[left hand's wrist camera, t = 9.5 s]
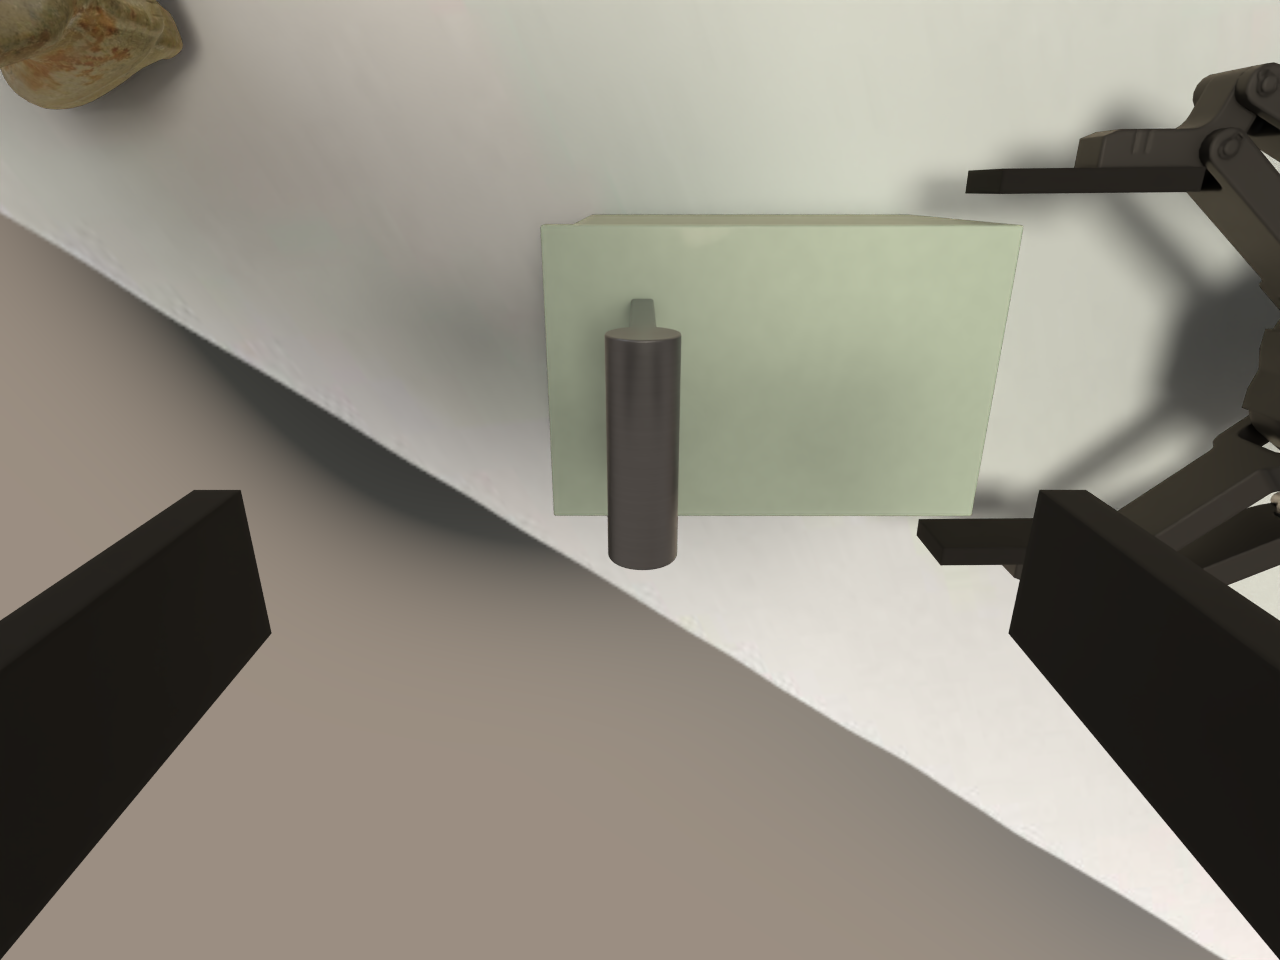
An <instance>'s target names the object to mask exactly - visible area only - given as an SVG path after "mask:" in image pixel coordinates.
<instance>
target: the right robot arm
mask: <svg viewBox="0 0 1280 960" xmlns="http://www.w3.org/2000/svg"><path fill="white" fill-rule="evenodd" d="M1193 103H1194V106H1195V107H1194V108H1193V110H1192V112H1191V114H1190V115H1189V117H1188V118H1187V119H1186V121H1185V122H1184V123H1183V124H1182V125H1180V126H1179V127H1177V128H1176V129H1118V130H1110V131H1102V132H1095V133H1093V134H1091V135H1088V136H1086V137H1083V138H1081V139H1080V141H1079V146H1078V151H1077V156H1076V162H1075V167H1074V168H1029V169H990V170H973V171H968V178H967V185H966V192H965V193H975V194H1029V193H1130V192H1187V193H1188V194H1189V196H1190V197H1191V198H1192V199H1193V200H1194V201H1195V202H1196V204H1197V205H1198V206H1199V207H1200V208H1201V209H1202V211H1203V212H1204V213H1205V214H1206V215H1207V216H1208V217H1209V219H1210V220H1211V221H1212V222H1213V223H1214V224H1215V226H1216V227H1217V228H1218V229H1219V230H1220V231H1221V232H1222V234H1223V235H1224V236H1225V237H1226V238H1227V239H1228V241H1229V242H1230V243H1231V244H1232V245H1233V246H1234V247H1235V249H1236V250H1237V251H1238V252H1239V253H1240V254H1241V256H1242V257H1243V258H1244V259H1245V260H1246V261H1247V262H1248V264H1249V265H1250V266H1251V267H1252V268H1253V269H1254V271H1255V272H1256V273H1257V274H1258V275H1259V276H1260V277H1261V279H1262V281H1261V282H1260V283H1259V286H1260V288H1261V289H1262V290H1263V291H1264V292H1265V294H1266V295H1267V296H1268V297H1269V298H1270V299H1271V301H1272V302H1273V303H1274V304H1275V305H1276V306H1277V307H1278V309H1279V310H1280V174H1279V173H1278V171H1277V170H1276V169H1275V168H1274V166H1273V165H1272V164H1271V163H1270V162H1269V160H1268V159H1267V158H1266V157H1265V155H1264V154H1263V153H1262V152H1261V151H1263V152H1264V153H1266V154H1268V155H1269V156H1271V157H1272V158H1274V159H1276V160H1277V161H1279V162H1280V64H1277V63H1267V64H1262V65H1256V66H1251V67H1246V68H1241V69H1236V70H1231V71H1226V72H1222V73H1217V74H1212V75H1209V76H1207V77H1205V78H1204V79H1202V80H1201V82H1200V83H1199V84H1198V85H1197V87H1196V89H1195V91H1194V94H1193ZM1260 150H1261V151H1260ZM1242 408H1244V409H1247V410H1249V416H1247V417H1246V418H1244V419H1242V420H1241V421H1239V422H1238V423H1236V424H1235V425H1233V426H1232V427H1230V428H1229V429H1227V430H1226V431H1224V432H1223V433H1221V434H1220V435H1218V436H1217V437H1216V438H1215V439H1214V441H1213V448H1212V449H1211V450H1210V451H1209V452H1207V453H1206V454H1204V455H1203V456H1201V457H1200V458H1198V459H1196V460H1195V461H1193V462H1192V463H1190V464H1189V465H1187V466H1186V467H1184V468H1183V469H1181V470H1180V471H1178V472H1177V473H1175V474H1174V475H1172V476H1170V477H1169V478H1167V479H1166V480H1164V481H1163V482H1161V483H1160V484H1158V485H1157V486H1155V487H1154V488H1152V489H1151V490H1149V491H1148V492H1146V493H1145V494H1143V495H1141V496H1140V497H1138V498H1137V499H1135V500H1134V501H1132V502H1131V503H1129V504H1128V505H1126V506H1125V507H1123V508H1122V509H1120V510H1119V511H1118V512H1119V513H1121V514H1122V515H1124V516H1125V517H1127V518H1128V519H1130V520H1131V521H1133V522H1134V523H1136V524H1137V525H1139V526H1140V527H1141V528H1143V529H1144V530H1146V531H1147V532H1149V533H1150V534H1152V535H1153V536H1155V537H1156V538H1158V539H1159V540H1161V541H1162V542H1164V543H1165V544H1167V545H1168V546H1170V547H1171V548H1173V549H1174V550H1176V551H1177V552H1179V553H1180V554H1182V555H1183V556H1185V557H1186V558H1187V559H1189V560H1190V561H1192V562H1193V563H1195V564H1196V565H1198V566H1199V567H1201V568H1202V569H1204V570H1205V571H1207V572H1208V573H1210V574H1211V575H1213V576H1214V577H1216V578H1217V579H1219V580H1220V581H1222V582H1223V583H1225V584H1226V585H1229V584H1232V583H1234V582H1237V581H1240V580H1242V579H1245V578H1247V577H1250V576H1252V575H1255V574H1258V573H1260V572H1263V571H1265V570H1268V569H1270V568H1273V567H1276V566H1278V565H1280V492H1277V491H1280V453H1277V452H1273V451H1271V450H1269V449H1266V448H1264V447H1262V446H1263V445H1265V444H1266V443H1268V442H1269V441H1270V442H1271V443H1272V444H1273V445H1274V446H1276V447H1277V448H1278V449H1279V450H1280V320H1279V321H1278V323H1277V324H1276V325H1275V327H1274V329H1265V332H1264V335H1263V339H1262V342H1261V345H1260V351H1259V369H1258V371H1257V373H1256V375H1255V377H1254V378H1253V380H1252V382H1251V384H1250V385H1249V387H1248V389H1247V392H1246V395H1245V399H1244V402H1243V405H1242ZM1273 492H1277V493H1275V494H1274V495H1273V496H1272V497H1271V503H1268V504H1262V505H1257V506H1253V507H1250V508H1248V507H1249V506H1251V505H1253V504H1254V503H1256V502H1257V501H1259V500H1261V499H1262V498H1264V497H1265V496H1267V495H1269V494H1271V493H1273ZM1032 522H1033V518H1008V519H919V522H918V529H917V536H918V538H919V539H920V540H921V541H922V543H923V544H924V545H925V546H926V548H927V549H928V550H929V551H930V553H931V554H932V555H933V556H934V558H935V559H936V560H937V561H938V563H939V564H940V565H1003V566H1004V568H1005V569H1006V570H1007V571H1008V572H1009V573H1010V574H1011V575H1012V576H1013V577H1014V578H1017V579H1019V580H1020V578H1021V573H1022V568H1023V564H1024V559H1025V554H1026V550H1027V545H1028V540H1029V536H1030V531H1031V527H1032Z"/></svg>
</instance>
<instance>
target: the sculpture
mask: <svg viewBox="0 0 1280 960" xmlns="http://www.w3.org/2000/svg"><path fill="white" fill-rule="evenodd" d="M182 47H183V43H182V39H181V36H180V34H179V32H178V29H177V27H176V24H175V22H174V20H173V18H172V16H171V14H170V13H169V12H168V11H167V10H165V9H164V8H163V7H162V6H161V5H160V4H159V3H158V2H157V1H156V0H0V69H1V71H2V73H3V76H4V78H5V80H6V81H7V83H8V85H9V86H10V87H11V88H12V89H13V90H14V91H15V92H16V93H17V94H18V95H19V96H21V97H22V98H24V99H25V100H27V101H28V102H30V103H33V104H35V105H38V106H40V107H43V108H48V109H68V108H73V107H78V106H82V105H84V104H87V103H89V102H92V101H94V100H96V99H97V98H99V97H101V96H103V95H104V94H106V93H108V92H109V91H111V90H112V89H114V88H115V87H117V86H118V85H120V84H121V83H123V82H124V81H126V80H127V79H128V78H130V77H131V76H132V75H133V74H135V73H136V72H138V71H139V70H141V69H142V68H144V67H146V66H148V65H150V64H152V63H154V62H156V61H159V60H161V59H170V58H172V57H174V56H176V55H177V54H178V53H179V52H180V51H181V50H182Z"/></svg>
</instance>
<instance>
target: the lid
mask: <svg viewBox="0 0 1280 960" xmlns="http://www.w3.org/2000/svg"><path fill="white" fill-rule="evenodd" d="M540 228H541V249H542V270H543V292H544V313H545V334H546V356H547V377H548V398H549V420H550V441H551V463H552V484H553V505H554V515H555V516H608V555H609V557H610V559H611V560H612V561H613V562H614V563H615V564H617V565H619V566H621V567H625V568H629V569H635V570H651V569H657V568H661V567H664V566H666V565H668V564H670V563H672V562H673V561H674V560H675V558H676V556H677V529H678V516H971V514H972V509H973V503H974V498H975V492H976V487H977V481H978V475H979V470H980V464H981V459H982V453H983V448H984V442H985V437H986V431H987V426H988V420H989V415H990V409H991V404H992V398H993V393H994V387H995V382H996V376H997V371H998V365H999V359H1000V354H1001V348H1002V343H1003V337H1004V332H1005V326H1006V321H1007V315H1008V310H1009V304H1010V299H1011V293H1012V288H1013V282H1014V277H1015V271H1016V266H1017V260H1018V254H1019V249H1020V243H1021V238H1022V232H1023V226H1022V225H1014V224H544V225H542V226H541V227H540Z"/></svg>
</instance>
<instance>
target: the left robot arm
mask: <svg viewBox="0 0 1280 960" xmlns="http://www.w3.org/2000/svg"><path fill="white" fill-rule="evenodd" d="M270 634H271V629H270V624H269V620H268V615H267V610H266V606H265V601H264V597H263V592H262V587H261V582H260V578H259V573H258V568H257V564H256V559H255V555H254V550H253V545H252V541H251V536H250V531H249V527H248V522H247V517H246V513H245V508H244V503H243V499H242V494H241V490H193V491H192V492H190V493H189V494H188V495H186V496H185V497H183V498H182V499H180V500H179V501H177V502H176V503H174V504H173V505H171V506H170V507H168V508H167V509H165V510H164V511H162V512H161V513H159V514H158V515H156V516H155V517H153V518H152V519H150V520H149V521H147V522H146V523H145V524H143V525H141V526H140V527H139V528H137V529H136V530H134V531H133V532H131V533H130V534H128V535H127V536H125V537H124V538H122V539H121V540H119V541H118V542H116V543H115V544H113V545H112V546H110V547H109V548H107V549H106V550H104V551H103V552H102V553H100V554H99V555H97V556H96V557H94V558H93V559H91V560H90V561H88V562H87V563H85V564H84V565H82V566H81V567H79V568H78V569H76V570H75V571H73V572H72V573H70V574H69V575H67V576H66V577H64V578H63V579H61V580H60V581H58V582H57V583H55V584H54V585H53V586H51V587H49V588H48V589H47V590H45V591H44V592H42V593H41V594H39V595H38V596H36V597H35V598H33V599H32V600H30V601H29V602H27V603H26V604H24V605H23V606H21V607H20V608H18V609H17V610H15V611H14V612H12V613H11V614H9V615H8V616H7V617H5V618H4V619H2V620H1V621H0V960H1V958H2V957H3V956H4V955H5V954H6V952H7V951H8V950H9V949H10V948H11V946H12V945H13V944H14V943H15V942H16V940H17V939H18V938H19V937H20V935H21V934H22V933H23V932H24V931H25V929H26V928H27V927H28V926H29V925H30V923H31V922H32V921H33V920H34V919H35V917H36V916H37V915H38V914H39V913H40V911H41V910H42V909H43V908H44V907H45V905H46V904H47V903H48V902H49V901H50V899H51V898H52V897H53V896H54V895H55V893H56V892H57V891H58V890H59V889H60V887H61V886H62V885H63V884H64V883H65V881H66V880H67V879H68V878H69V877H70V875H71V874H72V873H73V872H74V871H75V869H76V868H77V867H78V866H79V864H80V863H81V862H82V861H83V860H84V858H85V857H86V856H87V855H88V854H89V852H90V851H91V850H92V849H93V848H94V846H95V845H96V844H97V843H98V842H99V840H100V839H101V838H102V837H103V836H104V834H105V833H106V832H107V831H108V830H109V828H110V827H111V826H112V825H113V824H114V822H115V821H116V820H117V819H118V818H119V816H120V815H121V814H122V813H123V812H124V810H125V809H126V808H127V807H128V805H129V804H130V803H131V802H132V801H133V799H134V798H135V797H136V796H137V795H138V793H139V792H140V791H141V790H142V789H143V787H144V786H145V785H146V784H147V782H148V781H149V780H150V779H151V778H152V777H153V775H154V774H155V773H156V772H157V771H158V769H159V768H160V767H161V766H162V765H163V763H164V762H165V761H166V760H167V759H168V757H169V756H170V755H171V754H172V752H173V751H174V750H175V749H176V748H177V746H178V745H179V744H180V743H181V742H182V740H183V739H184V738H185V737H186V736H187V734H188V733H189V732H190V731H191V730H192V728H193V727H194V726H195V725H196V724H197V722H198V721H199V720H200V719H201V718H202V716H203V715H204V714H205V713H206V711H207V710H208V709H209V708H210V707H211V706H212V704H213V703H214V702H215V701H216V700H217V698H218V697H219V696H220V695H221V693H222V692H223V691H224V690H225V689H226V687H227V686H228V685H229V684H230V683H231V681H232V680H233V679H234V678H235V677H236V675H237V674H238V673H239V672H240V670H241V669H242V668H243V667H244V666H245V665H246V663H247V662H248V661H249V660H250V658H251V657H252V656H253V655H254V654H255V652H256V651H257V650H258V649H259V648H260V647H261V645H262V644H263V643H264V642H265V640H266V639H267V638H268V637H269V636H270ZM1009 634H1010V636H1011V637H1012V638H1013V639H1014V640H1015V642H1016V643H1017V644H1018V645H1019V647H1020V648H1021V649H1022V650H1023V651H1024V653H1025V654H1026V655H1027V656H1028V657H1029V659H1030V660H1031V661H1032V662H1033V663H1034V665H1035V666H1036V667H1037V668H1038V669H1039V671H1040V672H1041V673H1042V674H1043V675H1044V677H1045V678H1046V679H1047V680H1048V681H1049V683H1050V684H1051V685H1052V686H1053V687H1054V689H1055V690H1056V691H1057V692H1058V693H1059V695H1060V696H1061V697H1062V698H1063V700H1064V701H1065V702H1066V703H1067V704H1068V706H1069V707H1070V708H1071V709H1072V710H1073V712H1074V713H1075V714H1076V715H1077V716H1078V718H1079V719H1080V720H1081V721H1082V722H1083V724H1084V725H1085V726H1086V727H1087V728H1088V730H1089V731H1090V732H1091V733H1092V734H1093V736H1094V737H1095V738H1096V739H1097V740H1098V742H1099V743H1100V744H1101V745H1102V746H1103V748H1104V749H1105V750H1106V751H1107V753H1108V754H1109V755H1110V756H1111V757H1112V759H1113V760H1114V761H1115V762H1116V763H1117V765H1118V766H1119V767H1120V768H1121V769H1122V771H1123V772H1124V773H1125V774H1126V775H1127V777H1128V778H1129V779H1130V780H1131V781H1132V783H1133V784H1134V785H1135V786H1136V787H1137V789H1138V790H1139V791H1140V792H1141V793H1142V795H1143V796H1144V797H1145V798H1146V799H1147V801H1148V802H1149V803H1150V804H1151V805H1152V807H1153V808H1154V809H1155V810H1156V812H1157V813H1158V814H1159V815H1160V816H1161V818H1162V819H1163V820H1164V821H1165V822H1166V824H1167V825H1168V826H1169V827H1170V828H1171V830H1172V831H1173V832H1174V833H1175V834H1176V836H1177V837H1178V838H1179V839H1180V840H1181V842H1182V843H1183V844H1184V845H1185V846H1186V848H1187V849H1188V850H1189V851H1190V852H1191V854H1192V855H1193V856H1194V857H1195V858H1196V860H1197V861H1198V862H1199V863H1200V865H1201V866H1202V867H1203V868H1204V869H1205V871H1206V872H1207V873H1208V874H1209V875H1210V877H1211V878H1212V879H1213V880H1214V881H1215V883H1216V884H1217V885H1218V886H1219V887H1220V889H1221V890H1222V891H1223V892H1224V893H1225V895H1226V896H1227V897H1228V898H1229V899H1230V901H1231V902H1232V903H1233V904H1234V905H1235V907H1236V908H1237V909H1238V910H1239V911H1240V913H1241V914H1242V915H1243V916H1244V917H1245V919H1246V920H1247V921H1248V922H1249V924H1250V925H1251V926H1252V927H1253V928H1254V930H1255V931H1256V932H1257V933H1258V934H1259V936H1260V937H1261V938H1262V939H1263V940H1264V942H1265V943H1266V944H1267V945H1268V946H1269V948H1270V949H1271V950H1272V951H1273V952H1274V954H1275V955H1276V956H1277V957H1278V958H1279V960H1280V621H1279V620H1278V619H1276V618H1275V617H1274V616H1272V615H1271V614H1269V613H1268V612H1266V611H1265V610H1263V609H1262V608H1260V607H1259V606H1257V605H1256V604H1254V603H1253V602H1251V601H1250V600H1248V599H1247V598H1245V597H1244V596H1242V595H1241V594H1239V593H1238V592H1236V591H1235V590H1233V589H1232V588H1230V587H1229V586H1228V585H1226V584H1225V583H1223V582H1222V581H1220V580H1219V579H1217V578H1216V577H1214V576H1213V575H1211V574H1210V573H1208V572H1207V571H1205V570H1204V569H1202V568H1201V567H1199V566H1198V565H1196V564H1195V563H1193V562H1192V561H1190V560H1189V559H1187V558H1186V557H1185V556H1183V555H1182V554H1180V553H1179V552H1177V551H1176V550H1174V549H1173V548H1171V547H1170V546H1168V545H1167V544H1165V543H1164V542H1162V541H1161V540H1159V539H1158V538H1156V537H1155V536H1153V535H1152V534H1150V533H1149V532H1147V531H1146V530H1144V529H1143V528H1141V527H1140V526H1139V525H1137V524H1136V523H1134V522H1133V521H1131V520H1130V519H1128V518H1127V517H1125V516H1124V515H1122V514H1121V513H1119V512H1118V511H1116V510H1115V509H1113V508H1112V507H1110V506H1109V505H1107V504H1106V503H1104V502H1103V501H1101V500H1100V499H1098V498H1097V497H1095V496H1094V495H1093V494H1091V493H1090V492H1088V491H1087V490H1039V494H1038V499H1037V503H1036V508H1035V513H1034V517H1033V522H1032V527H1031V531H1030V536H1029V540H1028V545H1027V550H1026V554H1025V559H1024V564H1023V568H1022V573H1021V578H1020V582H1019V587H1018V592H1017V596H1016V601H1015V606H1014V610H1013V615H1012V620H1011V624H1010V629H1009Z"/></svg>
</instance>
